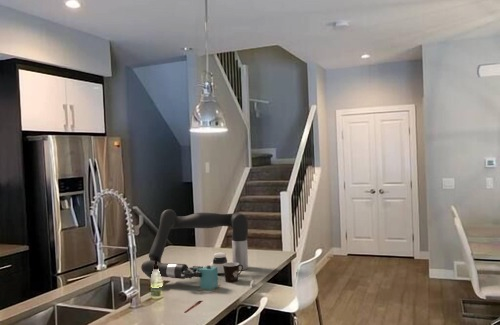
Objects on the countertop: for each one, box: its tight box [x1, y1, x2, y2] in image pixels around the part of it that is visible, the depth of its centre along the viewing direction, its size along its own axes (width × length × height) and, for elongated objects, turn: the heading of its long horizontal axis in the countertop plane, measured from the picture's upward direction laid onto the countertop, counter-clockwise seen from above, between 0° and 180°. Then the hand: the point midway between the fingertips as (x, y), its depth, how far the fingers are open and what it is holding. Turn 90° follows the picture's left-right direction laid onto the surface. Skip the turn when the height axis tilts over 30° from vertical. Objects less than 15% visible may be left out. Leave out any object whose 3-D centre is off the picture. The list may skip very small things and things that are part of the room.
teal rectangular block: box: [199, 264, 219, 290], centre depth 222 cm, size 7×7×11 cm
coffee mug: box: [223, 261, 244, 284], centre depth 234 cm, size 12×9×10 cm
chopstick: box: [184, 300, 203, 314], centre depth 202 cm, size 2×24×1 cm, turn 160°
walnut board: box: [197, 284, 222, 292], centre depth 222 cm, size 10×10×1 cm
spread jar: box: [209, 252, 228, 276], centre depth 254 cm, size 12×11×12 cm
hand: (205, 272), depth 223 cm, fingers open, 8 cm apart
